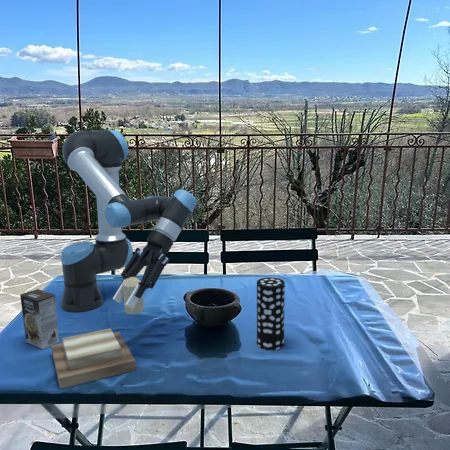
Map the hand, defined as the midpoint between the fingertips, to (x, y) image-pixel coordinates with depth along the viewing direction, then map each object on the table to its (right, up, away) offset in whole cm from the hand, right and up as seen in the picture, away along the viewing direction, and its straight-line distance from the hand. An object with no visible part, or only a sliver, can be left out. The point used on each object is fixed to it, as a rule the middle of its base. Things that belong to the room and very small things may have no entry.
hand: (122, 303), depth 129 cm
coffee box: (-28, -15, +14) cm, 35 cm away
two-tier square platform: (-9, -17, +1) cm, 19 cm away
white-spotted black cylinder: (+43, -14, +10) cm, 47 cm away
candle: (+3, -3, +3) cm, 5 cm away
